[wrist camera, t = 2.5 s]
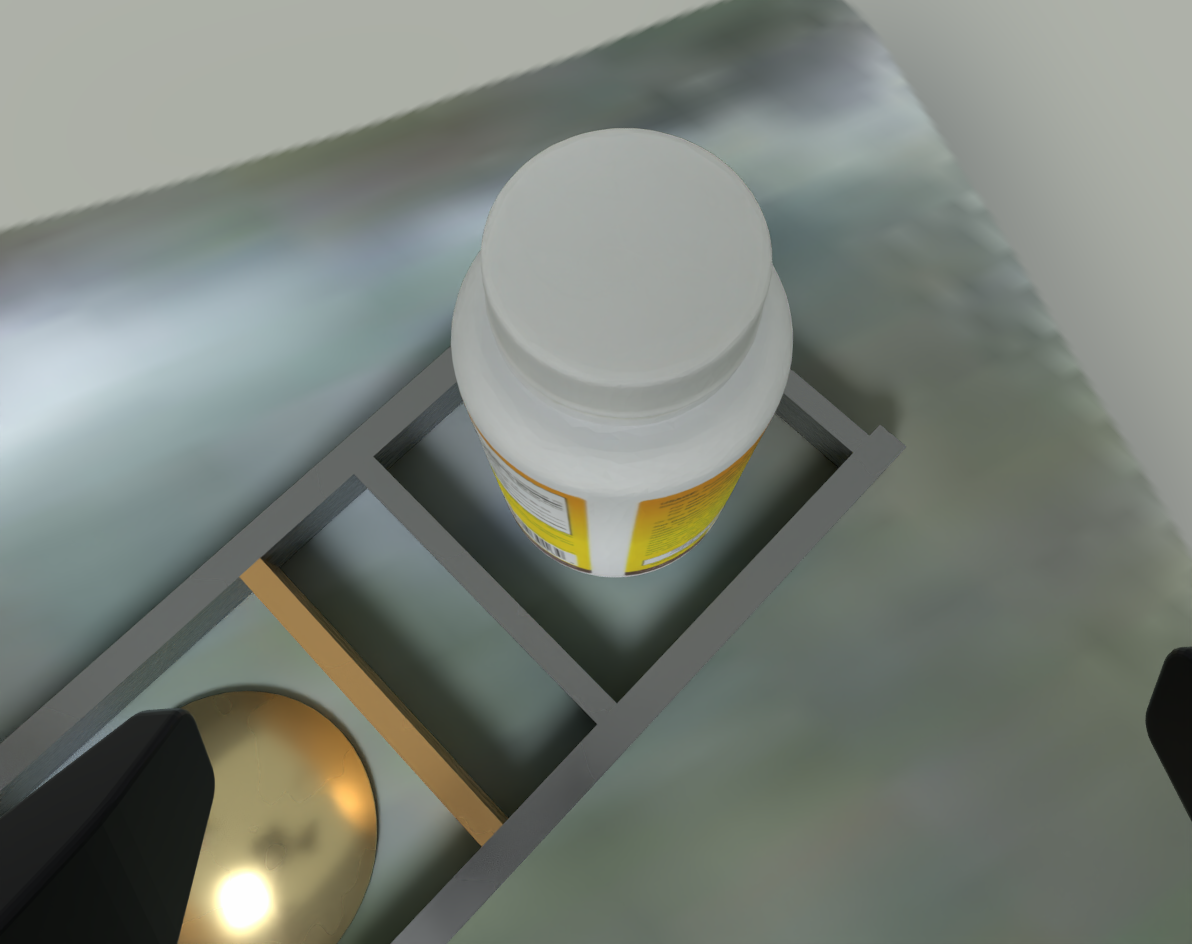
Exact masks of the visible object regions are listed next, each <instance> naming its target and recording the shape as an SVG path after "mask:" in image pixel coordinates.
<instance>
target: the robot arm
mask: <svg viewBox="0 0 1192 944" xmlns="http://www.w3.org/2000/svg"><path fill="white" fill-rule="evenodd" d="M1146 728H1147V732H1148V736H1149V738H1150V741H1151V743H1152V745H1153V747H1154V749H1155V751H1156V753H1157V755H1158V757H1159V759H1160V761H1161V763H1162V765H1163V767H1164V769H1165V770H1166V772H1167V774H1168V776H1169V778H1170V780H1171V782H1172V784H1173V786H1174V788H1175V790H1176V792H1177V794H1178V796H1179V798H1180V800H1181V802H1182V804H1183V806H1184V808H1185V810H1186V811H1187V813H1188V815H1189V817H1190V819H1191V821H1192V647H1180V648H1177V649H1174V650H1173V651H1172V652H1171V653H1170V654H1169V655H1168V656H1167V657H1166V659H1165V661H1164V664H1163V666H1162V669H1161V672H1160V675H1159V677H1158V680H1157V683H1156V686H1155V688H1154V691H1153V694H1152V697H1151V699H1150V702H1149V705H1148V708H1147V711H1146ZM214 792H215V776H214V771H213V767H212V765H211V762H210V759H209V756H208V754H207V751H206V748H205V745H204V743H203V740H202V737H201V734H200V732H199V729H198V726H197V724H196V721H195V719H194V717H193V715H192V714H191V713H190V712H189V711H188V710H186V709H181V708H174V709H158V710H146V711H142V712H139V713H137V714H135V715H134V716H132V717H131V718H129V719H128V720H127V721H126V722H124V723H123V724H122V725H120V726H119V727H118V728H116V729H115V730H114V731H112V732H111V733H110V734H109V735H107V736H106V737H105V738H103V739H102V740H101V741H99V742H98V743H97V744H95V745H94V746H93V747H92V748H90V749H89V750H88V751H86V752H85V753H84V754H82V755H81V756H80V757H79V758H77V759H76V760H75V761H73V762H72V763H71V764H69V765H68V766H67V767H65V768H64V769H63V770H62V771H60V772H59V773H58V774H56V775H55V776H54V777H52V778H51V779H50V780H48V781H47V782H46V783H45V784H43V785H42V786H41V787H39V788H38V789H37V790H35V791H34V792H33V793H32V794H30V795H29V796H28V797H26V798H25V799H24V800H22V801H21V802H20V803H18V804H17V805H16V806H15V807H13V808H12V809H11V810H9V811H8V812H7V813H5V814H4V815H3V816H1V817H0V944H177V943H178V940H179V936H180V932H181V928H182V924H183V920H184V916H185V912H186V908H187V904H188V900H189V896H190V892H191V888H192V884H193V879H194V875H195V871H196V867H197V863H198V859H199V855H200V851H201V847H202V843H203V839H204V835H205V831H206V827H207V823H208V819H209V815H210V811H211V807H212V803H213V798H214Z"/></svg>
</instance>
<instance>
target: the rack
mask: <svg viewBox="0 0 1192 944" xmlns="http://www.w3.org/2000/svg"><path fill="white" fill-rule="evenodd" d="M462 402H463V399H462V397H461V394H460V390H459V387H458V383H457V380H456V376H455V371H454V366H453V361H452V350H451V346H450V347H449V348H448V349H447V350H446V351H444V352H443V353H442V354H441V355H440V356H439V357H438V358H437V359H435V360H434V361H433V362H432V363H431V364H430V365H429V366H427V367H426V368H425V369H424V370H423V371H422V372H421V373H420V374H418V375H417V376H416V377H415V378H414V379H413V380H412V381H410V382H409V383H408V384H407V385H406V386H405V387H404V388H403V389H401V390H400V391H399V392H398V393H397V394H396V395H395V396H394V397H392V398H391V399H390V400H389V401H388V402H387V403H386V404H384V405H383V406H382V407H381V408H380V409H379V410H378V411H377V412H375V413H374V414H373V415H372V416H371V417H370V418H369V419H367V420H366V421H365V422H364V423H363V424H362V425H361V426H360V427H358V428H357V429H356V430H355V431H354V432H353V433H352V434H350V435H349V436H348V437H347V438H346V439H345V440H344V441H343V442H341V443H340V444H339V445H338V446H337V447H336V448H335V449H333V450H332V451H331V452H330V453H329V454H328V455H327V456H326V457H324V458H323V459H322V460H321V461H320V462H319V463H318V464H317V465H315V466H314V467H313V468H312V469H311V470H310V471H309V472H307V473H306V474H305V475H304V476H303V477H302V478H301V479H300V480H298V481H297V482H296V483H295V484H294V485H293V486H292V487H290V488H289V489H288V490H287V491H286V492H285V493H284V494H283V495H281V496H280V497H279V498H278V499H277V500H276V501H275V502H273V503H272V504H271V505H270V506H269V507H268V508H267V509H266V510H264V511H263V512H262V513H261V514H260V515H259V516H258V517H256V518H255V519H254V520H253V521H252V522H251V523H250V524H249V525H247V526H246V527H245V528H244V529H243V530H242V531H241V532H240V533H238V534H237V535H236V536H235V537H234V538H233V539H232V540H230V541H229V542H228V543H227V544H226V545H225V546H224V547H223V548H221V549H220V550H219V551H218V552H217V553H216V554H215V555H213V556H212V557H211V558H210V559H209V560H208V561H207V562H206V563H204V564H203V565H202V566H201V567H200V568H199V569H198V570H196V571H195V572H194V573H193V574H192V575H191V576H190V577H189V578H187V579H186V580H185V581H184V582H183V583H182V584H181V585H179V586H178V587H177V588H176V589H175V590H174V591H173V592H172V593H170V594H169V595H168V596H167V597H166V598H165V599H164V600H163V601H161V602H160V603H159V604H158V605H157V606H156V607H155V608H153V609H152V610H151V611H150V612H149V613H148V614H147V615H146V616H144V617H143V618H142V619H141V620H140V621H139V622H138V623H136V624H135V625H134V626H133V627H132V628H131V629H130V630H129V631H127V632H126V633H125V634H124V635H123V636H122V637H121V638H119V639H118V640H117V641H116V642H115V643H114V644H113V645H112V646H110V647H109V648H108V649H107V650H106V651H105V652H104V653H102V654H101V655H100V656H99V657H98V658H97V659H96V660H95V661H93V662H92V663H91V664H90V665H89V666H88V667H87V668H86V669H84V670H83V671H82V672H81V673H80V674H79V675H78V676H76V677H75V678H74V679H73V680H72V681H71V682H70V683H69V684H67V685H66V686H65V687H64V688H63V689H62V690H61V691H59V692H58V693H57V694H56V695H55V696H54V697H53V698H52V699H50V700H49V701H48V702H47V703H46V704H45V705H44V706H42V707H41V708H40V709H39V710H38V711H37V712H36V713H35V714H33V715H32V716H31V717H30V718H29V719H28V720H27V721H25V722H24V723H23V724H22V725H21V726H20V727H19V728H18V729H16V730H15V731H14V732H13V733H12V734H11V735H10V736H9V737H7V738H6V739H5V740H4V741H3V742H2V743H1V744H0V817H1V816H3V815H4V814H5V813H7V812H8V811H9V810H11V809H12V808H13V807H15V806H16V805H17V804H18V803H20V802H21V801H22V800H23V799H24V798H25V797H26V796H27V795H28V794H30V793H31V792H32V791H33V790H34V789H35V788H36V787H37V786H38V785H39V784H41V783H42V782H43V781H44V780H45V779H46V778H47V777H48V776H49V775H51V774H52V773H53V772H54V771H55V770H56V769H57V768H58V767H59V766H60V765H62V764H63V763H64V762H65V761H66V760H67V759H68V758H69V757H70V756H72V755H73V754H74V753H75V752H76V751H77V750H78V749H79V748H80V747H81V746H83V745H84V744H85V743H86V742H87V741H88V740H89V739H90V738H91V737H93V736H94V735H95V734H96V733H97V732H98V731H99V730H100V729H101V728H102V727H104V726H105V725H106V724H107V723H108V722H109V721H110V720H111V719H112V718H114V717H115V716H116V715H117V714H118V713H119V712H120V711H121V710H122V709H123V708H125V707H126V706H127V705H128V704H129V703H130V702H131V701H132V700H133V699H135V698H136V697H137V696H138V695H139V694H140V693H141V692H142V691H143V690H144V689H146V688H147V687H148V686H149V685H150V684H151V683H152V682H153V681H154V680H155V679H157V678H158V677H159V676H160V675H161V674H162V673H163V672H164V671H165V670H167V669H168V668H169V667H170V666H171V665H172V664H173V663H174V662H175V661H176V660H178V659H179V658H180V657H181V656H182V655H183V654H184V653H185V652H186V651H188V650H189V649H190V648H191V647H192V646H193V645H194V644H195V643H196V642H197V641H199V640H200V639H201V638H202V637H203V636H204V635H205V634H206V633H207V632H209V631H210V630H211V629H212V628H213V627H214V626H215V625H216V624H217V623H218V622H220V621H221V620H222V619H223V618H224V617H225V616H226V615H227V614H228V613H230V612H231V611H232V610H233V609H234V608H235V607H236V606H237V605H238V604H239V603H241V602H242V601H243V600H244V599H245V598H246V597H247V596H248V595H249V594H251V593H252V592H253V593H254V594H255V595H256V596H257V597H258V598H259V599H260V600H261V601H262V603H263V604H264V605H265V606H266V607H267V608H268V609H269V610H270V612H271V613H272V614H273V615H274V616H275V617H276V618H277V619H278V620H279V622H280V623H281V624H282V625H283V626H284V627H285V628H286V629H287V630H288V632H289V633H290V634H291V635H292V636H293V637H294V638H295V639H296V640H297V642H298V643H299V644H300V645H301V646H302V647H303V648H304V649H305V650H306V652H307V653H308V654H309V655H310V656H311V657H312V658H313V659H314V661H315V662H316V663H317V664H318V665H319V666H320V667H321V668H322V669H323V671H324V672H325V673H326V674H327V675H328V676H329V677H330V678H331V679H332V681H333V682H334V683H335V684H336V685H337V686H338V687H339V688H340V689H341V691H342V692H343V693H344V694H345V695H346V696H347V697H348V698H349V699H350V701H351V702H352V703H353V704H354V705H355V706H356V707H357V708H358V710H359V711H360V712H361V713H362V714H363V715H364V716H365V717H366V718H367V720H368V721H369V722H370V723H371V724H372V725H373V726H374V727H375V728H376V730H377V731H378V732H379V733H380V734H381V735H382V736H383V737H384V738H385V740H386V741H387V742H388V743H389V744H390V745H391V746H392V747H393V749H394V750H395V751H396V752H397V753H398V754H399V755H400V756H401V757H402V759H403V760H404V761H405V762H406V763H407V764H408V765H409V766H410V767H411V769H412V770H413V771H414V772H415V773H416V774H417V775H418V776H419V777H420V779H421V780H422V781H423V782H424V783H425V784H426V785H427V786H428V787H429V789H430V790H431V791H432V792H433V793H434V794H435V795H436V796H437V798H438V799H439V800H440V801H441V802H442V803H443V804H444V805H445V806H446V808H447V809H448V810H449V811H450V812H451V813H452V814H453V815H454V816H455V818H456V819H457V820H458V821H459V822H460V823H461V824H462V825H463V826H464V828H465V829H466V830H467V831H468V832H469V833H470V834H471V835H472V836H473V838H474V839H475V840H476V841H477V842H478V843H479V844H480V845H481V848H480V849H479V850H478V851H477V852H476V854H475V855H474V856H473V857H472V858H471V859H470V860H469V861H468V862H467V863H466V864H465V865H464V866H463V867H462V868H461V869H460V870H459V872H458V873H457V874H456V875H455V876H454V877H453V878H452V879H451V880H450V881H449V882H448V883H447V884H446V885H445V886H444V887H443V889H442V890H441V891H440V892H439V893H438V894H437V895H436V896H435V897H434V898H433V899H432V900H431V901H430V902H429V903H428V904H427V905H426V907H425V908H424V909H423V910H422V911H421V912H420V913H419V914H418V915H417V916H416V917H415V918H414V919H413V920H412V921H411V922H410V924H409V925H408V926H407V927H406V928H405V929H404V930H403V931H402V932H401V933H400V934H399V935H398V936H397V937H396V938H395V939H394V940H393V942H392V943H391V944H447V943H448V942H449V941H450V939H451V938H452V937H453V936H454V935H455V934H456V933H457V932H458V931H459V930H460V929H461V928H462V927H463V925H464V924H465V923H466V922H467V921H468V920H469V919H470V918H471V917H472V916H473V915H474V914H475V912H476V911H477V910H478V909H479V908H480V907H481V906H482V905H483V904H484V903H485V902H486V901H487V900H488V898H489V897H490V896H491V895H492V894H493V893H494V892H495V891H496V890H497V889H498V888H499V887H500V885H501V884H502V883H503V882H504V881H505V880H506V879H507V878H508V877H509V876H510V875H511V874H512V872H513V871H514V870H515V869H516V868H517V867H518V866H519V865H520V864H521V863H522V862H523V861H524V860H525V858H526V857H527V856H528V855H529V854H530V853H531V852H532V851H533V850H534V849H535V848H536V847H537V845H538V844H539V843H540V842H541V841H542V840H543V839H544V838H545V837H546V836H547V835H548V834H549V833H550V831H551V830H552V829H553V828H554V827H555V826H556V825H557V824H558V823H559V822H560V821H561V820H562V818H563V817H564V816H565V815H566V814H567V813H568V812H569V811H570V810H571V809H572V808H573V807H574V806H575V804H576V803H577V802H578V801H579V800H580V799H581V798H582V797H583V796H584V795H585V794H586V793H587V791H588V790H589V789H590V788H591V787H592V786H593V785H594V784H595V783H596V782H597V781H598V780H599V778H600V777H601V776H602V775H603V774H604V773H605V772H606V771H607V770H608V769H609V768H610V767H611V766H612V764H613V763H614V762H615V761H616V760H617V759H618V758H619V757H620V756H621V755H622V754H623V753H624V751H625V750H626V749H627V748H628V747H629V746H630V745H631V744H632V743H633V742H634V741H635V740H636V739H637V737H638V736H639V735H640V734H641V733H642V732H643V731H644V730H645V729H646V728H647V727H648V726H649V724H650V723H651V722H652V721H653V720H654V719H655V718H656V717H657V716H658V715H659V714H660V713H661V712H662V710H663V709H664V708H665V707H666V706H667V705H668V704H669V703H670V702H671V701H672V700H673V699H674V697H675V696H676V695H677V694H678V693H679V692H680V691H681V690H682V689H683V688H684V687H685V686H686V684H687V683H688V682H689V681H690V680H691V679H692V678H693V677H694V676H695V675H696V674H697V673H698V672H699V670H700V669H701V668H702V667H703V666H704V665H705V664H706V663H707V662H708V661H709V660H710V659H711V657H712V656H713V655H714V654H715V653H716V652H717V651H718V650H719V649H720V648H721V647H722V646H723V645H724V643H725V642H726V641H727V640H728V639H729V638H730V637H731V636H732V635H733V634H734V633H735V632H736V630H737V629H738V628H739V627H740V626H741V625H742V624H743V623H744V622H745V621H746V620H747V619H748V618H749V616H750V615H751V614H752V613H753V612H754V611H755V610H756V609H757V608H758V607H759V606H760V605H761V603H762V602H763V601H764V600H765V599H766V598H767V597H768V596H769V595H770V594H771V593H772V592H773V590H774V589H775V588H776V587H777V586H778V585H779V584H780V583H781V582H782V581H783V580H784V579H785V578H786V576H787V575H788V574H789V573H790V572H791V571H792V570H793V569H794V568H795V567H796V566H797V565H798V563H799V562H800V561H801V560H802V559H803V558H804V557H805V556H806V555H807V554H808V553H809V552H810V551H811V549H812V548H813V547H814V546H815V545H816V544H817V543H818V542H819V541H820V540H821V539H822V538H823V536H824V535H825V534H826V533H827V532H828V531H829V530H830V529H831V528H832V527H833V526H834V525H835V524H836V522H837V521H838V520H839V519H840V518H841V517H842V516H843V515H844V514H845V513H846V512H847V511H848V509H849V508H850V507H851V506H852V505H853V504H854V503H855V502H856V501H857V500H858V499H859V498H860V497H861V495H862V494H863V493H864V492H865V491H866V490H867V489H868V488H869V487H870V486H871V485H872V484H873V482H874V481H875V480H876V479H877V478H878V477H879V476H880V475H881V474H882V473H883V472H884V471H885V469H886V468H887V467H888V466H889V465H890V464H891V463H892V462H893V461H894V460H895V459H896V458H897V457H898V455H899V454H900V453H901V452H902V451H903V450H904V449H905V448H906V446H905V445H904V444H903V443H902V442H900V441H899V440H898V439H897V438H896V437H895V436H893V435H892V434H891V433H890V432H889V431H887V430H886V429H885V428H884V427H883V426H881V425H879V426H878V427H877V428H876V429H875V430H874V431H873V432H872V434H871V435H870V436H869V435H868V434H867V433H866V432H865V431H863V430H862V429H861V428H860V427H859V426H858V425H856V424H855V423H854V422H853V421H852V420H850V419H849V418H848V417H847V416H846V415H845V414H843V413H842V412H841V411H840V410H839V409H838V408H836V407H835V406H834V405H833V404H832V403H830V402H829V401H828V400H827V399H826V398H825V397H823V396H822V395H821V394H820V393H819V392H818V391H816V390H815V389H814V388H813V387H812V386H810V385H809V384H808V383H807V382H806V381H805V380H803V379H802V378H801V377H800V376H799V375H798V374H796V373H795V372H794V371H793V370H792V369H790V372H789V376H788V380H787V384H786V387H785V389H784V392H783V395H782V398H781V400H780V403H779V405H778V407H777V409H776V411H775V412H776V413H777V414H778V415H779V416H780V417H781V418H782V419H784V420H785V421H786V422H787V423H788V424H789V425H791V426H792V427H793V428H794V429H795V430H796V431H797V432H799V433H800V434H801V435H802V436H803V437H804V438H805V439H807V440H808V441H809V442H810V443H811V444H812V445H814V446H815V447H816V448H817V449H818V450H819V451H820V452H822V453H823V454H824V455H825V456H826V457H827V458H829V459H830V460H831V461H832V462H833V463H834V464H835V465H837V466H838V467H839V469H838V470H837V471H836V472H835V473H834V474H833V475H832V476H831V477H830V478H829V479H828V480H827V481H826V482H825V483H824V484H823V485H822V487H821V488H820V489H819V490H818V491H817V492H816V493H815V494H814V495H813V496H812V497H811V498H810V499H809V500H808V501H807V502H806V504H805V505H804V506H803V507H802V508H801V509H800V510H799V511H798V512H797V513H796V514H795V515H794V516H793V517H792V518H791V519H790V520H789V522H788V523H787V524H786V525H785V526H784V527H783V528H782V529H781V530H780V531H779V532H778V533H777V534H776V535H775V536H774V537H773V539H772V540H771V541H770V542H769V543H768V544H767V545H766V546H765V547H764V548H763V549H762V550H761V551H760V552H759V553H758V554H757V555H756V557H755V558H754V559H753V560H752V561H751V562H750V563H749V564H748V565H747V566H746V567H745V568H744V569H743V570H742V571H741V572H740V574H739V575H738V576H737V577H736V578H735V579H734V580H733V581H732V582H731V583H730V584H729V585H728V586H727V587H726V588H725V589H724V590H723V592H722V593H721V594H720V595H719V596H718V597H717V598H716V599H715V600H714V601H713V602H712V603H711V604H710V605H709V606H708V607H707V609H706V610H705V611H704V612H703V613H702V614H701V615H700V616H699V617H698V618H697V619H696V620H695V621H694V622H693V623H692V624H691V625H690V627H689V628H688V629H687V630H686V631H685V632H684V633H683V634H682V635H681V636H680V637H679V638H678V639H677V640H676V641H675V642H674V644H673V645H672V646H671V647H670V648H669V649H668V650H667V651H666V652H665V653H664V654H663V655H662V656H661V657H660V658H659V659H658V660H657V662H656V663H655V664H654V665H653V666H652V667H651V668H650V669H649V670H648V671H647V672H646V673H645V674H644V675H643V676H642V677H641V679H640V680H639V681H638V682H637V683H636V684H635V685H634V686H633V687H632V688H631V689H630V690H629V691H628V692H627V693H626V694H625V695H624V697H623V698H622V699H621V700H620V701H619V702H618V703H616V702H615V701H614V700H613V699H612V698H611V697H610V696H609V695H608V694H607V693H606V692H605V691H604V690H603V689H602V688H601V687H600V686H599V685H598V684H597V683H596V682H595V681H594V680H593V679H592V678H591V677H590V676H589V675H588V674H587V673H586V672H585V671H584V670H583V669H582V668H581V667H580V666H579V665H578V664H577V663H576V662H575V661H574V660H573V659H572V658H571V657H570V656H569V655H568V653H567V652H566V651H565V650H564V649H563V648H562V647H561V646H560V645H559V644H558V643H557V642H556V641H555V640H554V639H553V638H552V637H551V636H550V635H549V634H548V633H547V632H546V631H545V630H544V629H543V628H542V627H541V626H540V625H539V624H538V623H537V622H536V621H535V620H534V619H533V618H532V617H531V616H530V615H529V614H528V613H527V612H526V611H525V610H524V609H523V608H522V607H521V606H520V605H519V604H518V603H517V602H516V601H515V600H514V599H513V598H512V597H511V596H510V595H509V594H508V593H507V592H506V591H505V590H504V589H503V588H502V587H501V586H500V585H499V584H498V583H497V582H496V580H495V579H494V578H493V577H492V576H491V575H490V574H489V573H488V572H487V571H486V570H485V569H484V568H483V567H482V566H481V565H480V564H479V563H478V562H477V561H476V560H475V559H474V558H473V557H472V556H471V555H470V554H469V553H468V552H467V551H466V550H465V549H464V548H463V547H462V546H461V545H460V544H459V543H458V542H457V541H456V540H455V539H454V538H453V537H452V536H451V535H450V534H449V533H448V532H447V531H446V530H445V529H444V528H443V527H442V526H441V525H440V524H439V523H438V522H437V521H436V520H435V519H434V518H433V517H432V516H431V515H430V514H429V513H428V512H427V511H426V510H425V509H424V507H423V506H422V505H421V504H420V503H419V502H418V501H417V500H416V499H415V498H414V497H413V496H412V495H411V494H410V493H409V492H408V491H407V490H406V489H405V488H404V487H403V486H402V485H401V484H400V483H399V482H398V481H397V480H396V479H395V478H394V477H393V476H392V475H391V474H390V473H389V472H388V471H387V470H388V469H389V468H390V467H391V466H392V465H393V464H394V463H395V462H396V461H397V460H399V459H400V458H401V457H402V456H403V455H404V454H405V453H406V452H407V451H408V450H410V449H411V448H412V447H413V446H414V445H415V444H416V443H417V442H418V441H420V440H421V439H422V438H423V437H424V436H425V435H426V434H427V433H428V432H429V431H431V430H432V429H433V428H434V427H435V426H436V425H437V424H438V423H439V422H441V421H442V420H443V419H444V418H445V417H446V416H447V415H448V414H449V413H450V412H452V411H453V410H454V409H455V408H456V407H457V406H458V405H459V404H460V403H462ZM367 488H368V489H369V490H370V491H371V492H372V493H373V494H374V495H375V496H376V497H377V498H378V499H379V500H380V501H381V503H382V504H383V505H384V506H385V507H386V508H387V509H388V510H389V511H390V512H391V513H392V514H393V515H394V516H395V517H396V518H397V519H398V520H399V521H400V522H401V523H402V524H403V525H404V526H405V527H406V528H407V529H408V530H409V531H410V532H411V533H412V534H413V535H414V536H415V537H416V538H417V540H418V541H419V542H420V543H421V544H422V545H423V546H424V547H425V548H426V549H427V550H428V551H429V552H430V553H431V554H432V555H433V556H434V557H435V558H436V559H437V560H438V561H439V562H440V563H441V564H442V565H443V566H444V567H445V568H446V569H447V570H448V571H449V572H450V573H451V574H452V575H453V577H454V578H455V579H456V580H457V581H458V582H459V583H460V584H461V585H462V586H463V587H464V588H465V589H466V590H467V591H468V592H469V593H470V594H471V595H472V596H473V597H474V598H475V599H476V600H477V601H478V602H479V603H480V604H481V605H482V606H483V607H484V608H485V609H486V610H487V611H488V612H489V614H490V615H491V616H492V617H493V618H494V619H495V620H496V621H497V622H498V623H499V624H500V625H501V626H502V627H503V628H504V629H505V630H506V631H507V632H508V633H509V634H510V635H511V636H512V637H513V638H514V639H515V640H516V641H517V642H518V643H519V644H520V645H521V646H522V647H523V648H524V649H525V651H526V652H527V653H528V654H529V655H530V656H531V657H532V658H533V659H534V660H535V661H536V662H537V663H538V664H539V665H540V666H541V667H542V668H543V669H544V670H545V671H546V672H547V673H548V674H549V675H550V676H551V677H552V678H553V679H554V680H555V681H556V682H557V683H558V684H559V685H560V686H561V688H562V689H563V690H564V691H565V692H566V693H567V694H568V695H569V696H570V697H571V698H572V699H573V700H574V701H575V702H576V703H577V704H578V705H579V706H580V707H581V708H582V709H583V710H584V711H585V712H586V713H587V714H588V715H589V716H590V717H591V718H592V719H593V720H594V721H595V722H596V723H597V725H596V726H595V727H594V728H593V729H592V730H591V732H590V733H589V734H588V735H587V736H586V737H585V738H584V739H583V740H582V741H581V742H580V743H579V744H578V745H577V746H576V747H575V749H574V750H573V751H572V752H571V753H570V754H569V755H568V756H567V757H566V758H565V759H564V760H563V761H562V762H561V763H560V764H559V765H558V767H557V768H556V769H555V770H554V771H553V772H552V773H551V774H550V775H549V776H548V777H547V778H546V779H545V780H544V781H543V782H542V784H541V785H540V786H539V787H538V788H537V789H536V790H535V791H534V792H533V793H532V794H531V795H530V796H529V797H528V798H527V799H526V800H525V802H524V803H523V804H522V805H521V806H520V807H519V808H518V809H517V810H516V811H515V812H514V813H513V814H512V815H511V816H510V817H509V818H508V817H507V816H506V815H505V814H504V813H503V812H502V811H501V810H500V808H499V807H498V806H497V805H496V804H495V803H494V802H493V801H492V800H491V799H490V798H489V796H488V795H487V794H486V793H485V792H484V791H483V790H482V789H481V788H480V787H479V785H478V784H477V783H476V782H475V781H474V780H473V779H472V778H471V777H470V776H469V775H468V773H467V772H466V771H465V770H464V769H463V768H462V767H461V766H460V765H459V764H458V763H457V761H456V760H455V759H454V758H453V757H452V756H451V755H450V754H449V753H448V752H447V750H446V749H445V748H444V747H443V746H442V745H441V744H440V743H439V742H438V741H437V740H436V738H435V737H434V736H433V735H432V734H431V733H430V732H429V731H428V730H427V729H426V728H425V726H424V725H423V724H422V723H421V722H420V721H419V720H418V719H417V718H416V717H415V716H414V714H413V713H412V712H411V711H410V710H409V709H408V708H407V707H406V706H405V705H404V703H403V702H402V701H401V700H400V699H399V698H398V697H397V696H396V695H395V694H394V693H393V691H392V690H391V689H390V688H389V687H388V686H387V685H386V684H385V683H384V682H383V681H382V679H381V678H380V677H379V676H378V675H377V674H376V673H375V672H374V671H373V670H372V669H371V667H370V666H369V665H368V664H367V663H366V662H365V661H364V660H363V659H362V658H361V656H360V655H359V654H358V653H357V652H356V651H355V650H354V649H353V648H352V647H351V646H350V644H349V643H348V642H347V641H346V640H345V639H344V638H343V637H342V636H341V635H340V634H339V632H338V631H337V630H336V629H335V628H334V627H333V626H332V625H331V624H330V623H329V622H328V620H327V619H326V618H325V617H324V616H323V615H322V614H321V613H320V612H319V611H318V609H317V608H316V607H315V606H314V605H313V604H312V603H311V602H310V601H309V600H308V599H307V597H306V596H305V595H304V594H303V593H302V592H301V591H300V590H299V589H298V588H297V587H296V585H295V584H294V583H293V582H292V581H291V580H290V579H289V578H288V577H287V576H286V575H285V573H284V572H283V571H282V570H281V569H280V568H279V567H280V566H281V565H283V564H284V563H285V562H286V561H287V560H288V559H289V558H290V557H291V556H292V555H294V554H295V553H296V552H297V551H298V550H299V549H300V548H301V547H302V546H304V545H305V544H306V543H307V542H308V541H309V540H310V539H311V538H312V537H313V536H315V535H316V534H317V533H318V532H319V531H320V530H321V529H322V528H323V527H325V526H326V525H327V524H328V523H329V522H330V521H331V520H332V519H333V518H334V517H336V516H337V515H338V514H339V513H340V512H341V511H342V510H343V509H344V508H346V507H347V506H348V505H349V504H350V503H351V502H352V501H353V500H354V499H355V498H357V497H358V496H359V495H360V494H361V493H362V492H363V491H364V490H365V489H367ZM181 709H186V710H188V711H189V712H190V713H191V714H192V715H193V717H194V719H195V721H196V724H197V726H198V729H199V732H200V734H201V737H202V740H203V743H204V745H205V748H206V751H207V754H208V756H209V759H210V762H211V765H212V767H213V771H214V776H215V792H214V798H213V803H212V807H211V811H210V815H209V819H208V823H207V827H206V831H205V835H204V839H203V843H202V847H201V851H200V855H199V859H198V863H197V867H196V871H195V875H194V879H193V884H192V888H191V892H190V896H189V900H188V904H187V908H186V912H185V916H184V920H183V924H182V928H181V932H180V936H179V940H178V943H177V944H337V943H338V941H339V940H340V939H341V937H342V936H343V934H344V933H345V931H346V930H347V928H348V927H349V925H350V924H351V922H352V921H353V919H354V917H355V915H356V913H357V911H358V909H359V907H360V905H361V903H362V901H363V898H364V895H365V893H366V890H367V887H368V885H369V882H370V878H371V874H372V870H373V866H374V862H375V854H376V846H377V813H376V805H375V799H374V795H373V791H372V787H371V783H370V780H369V777H368V775H367V772H366V770H365V767H364V765H363V763H362V761H361V759H360V757H359V755H358V754H357V752H356V750H355V748H354V747H353V746H352V744H351V743H350V742H349V740H348V739H347V738H346V736H345V735H344V734H343V733H342V732H341V731H340V730H339V729H338V728H337V727H336V726H335V725H334V724H333V723H332V722H331V721H330V720H329V719H327V718H326V717H325V716H323V715H322V714H321V713H319V712H318V711H316V710H315V709H313V708H311V707H309V706H307V705H305V704H303V703H302V702H299V701H297V700H294V699H291V698H288V697H285V696H282V695H277V694H272V693H267V692H254V691H240V692H228V693H223V694H218V695H213V696H209V697H206V698H203V699H200V700H197V701H194V702H192V703H189V704H187V705H185V706H183V707H181Z"/></svg>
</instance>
